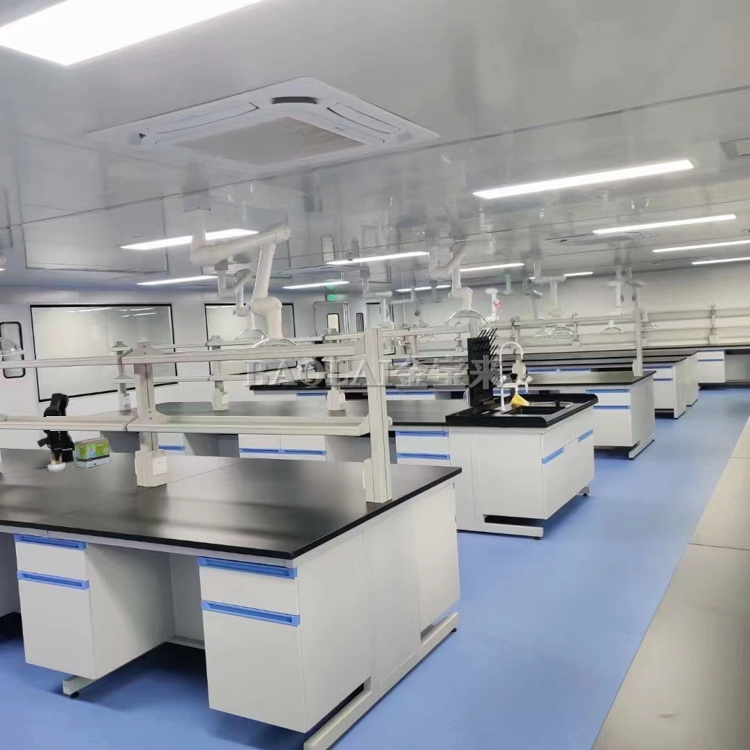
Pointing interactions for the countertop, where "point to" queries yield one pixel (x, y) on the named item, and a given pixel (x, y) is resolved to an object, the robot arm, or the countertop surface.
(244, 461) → the countertop surface
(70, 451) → the robot arm
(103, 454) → the tea box
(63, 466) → the ceramic puck
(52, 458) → the birch block
